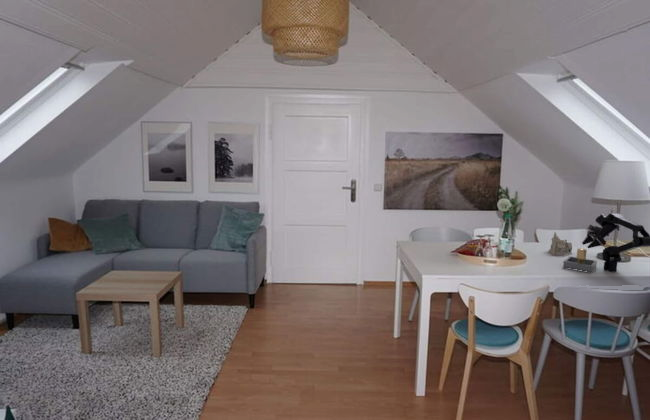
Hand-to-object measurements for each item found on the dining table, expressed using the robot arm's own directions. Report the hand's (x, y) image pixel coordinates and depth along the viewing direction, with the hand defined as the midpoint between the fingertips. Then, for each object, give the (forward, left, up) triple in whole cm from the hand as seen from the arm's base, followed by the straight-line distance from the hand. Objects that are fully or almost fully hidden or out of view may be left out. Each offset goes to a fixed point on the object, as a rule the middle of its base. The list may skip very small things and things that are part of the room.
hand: (585, 245), depth 299 cm
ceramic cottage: (+19, -26, -14) cm, 35 cm away
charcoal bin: (+1, +5, -14) cm, 15 cm away
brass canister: (+1, +5, -13) cm, 14 cm away
